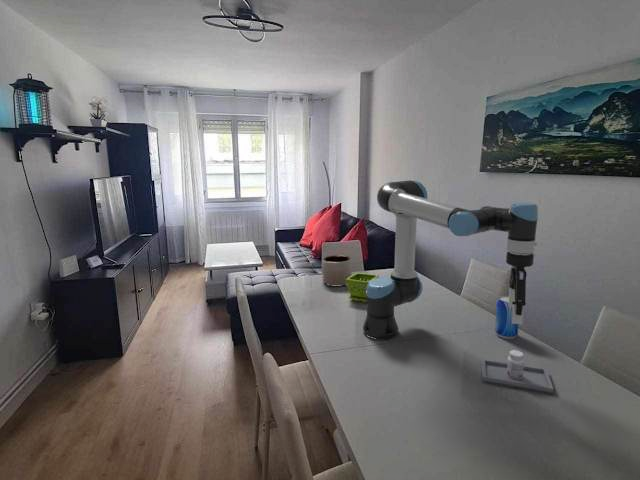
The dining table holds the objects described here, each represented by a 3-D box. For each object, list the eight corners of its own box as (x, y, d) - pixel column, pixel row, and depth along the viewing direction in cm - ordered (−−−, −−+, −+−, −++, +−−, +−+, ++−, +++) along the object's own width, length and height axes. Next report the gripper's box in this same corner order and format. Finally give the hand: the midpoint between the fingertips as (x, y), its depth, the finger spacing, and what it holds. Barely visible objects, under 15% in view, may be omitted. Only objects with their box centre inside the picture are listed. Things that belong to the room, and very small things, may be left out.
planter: (321, 287, 218) (320, 262, 214) (325, 278, 235) (324, 254, 232) (350, 287, 215) (349, 262, 211) (352, 278, 232) (352, 255, 229)
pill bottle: (506, 370, 123) (507, 348, 121) (522, 373, 121) (523, 350, 119) (507, 378, 119) (508, 355, 117) (523, 381, 117) (525, 357, 115)
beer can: (520, 340, 144) (523, 303, 141) (497, 339, 146) (500, 302, 143) (513, 331, 152) (516, 295, 149) (492, 330, 154) (494, 295, 151)
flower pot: (379, 297, 198) (379, 275, 195) (369, 305, 186) (368, 282, 184) (357, 293, 205) (356, 271, 202) (345, 301, 194) (344, 278, 191)
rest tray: (482, 381, 119) (482, 376, 118) (481, 363, 129) (481, 358, 129) (553, 394, 111) (553, 388, 111) (545, 373, 122) (546, 368, 121)
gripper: (540, 263, 100) (533, 333, 105) (528, 244, 123) (522, 302, 127) (510, 261, 103) (505, 329, 107) (503, 243, 125) (499, 299, 130)
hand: (514, 315), depth 117 cm, fingers open, 13 cm apart
